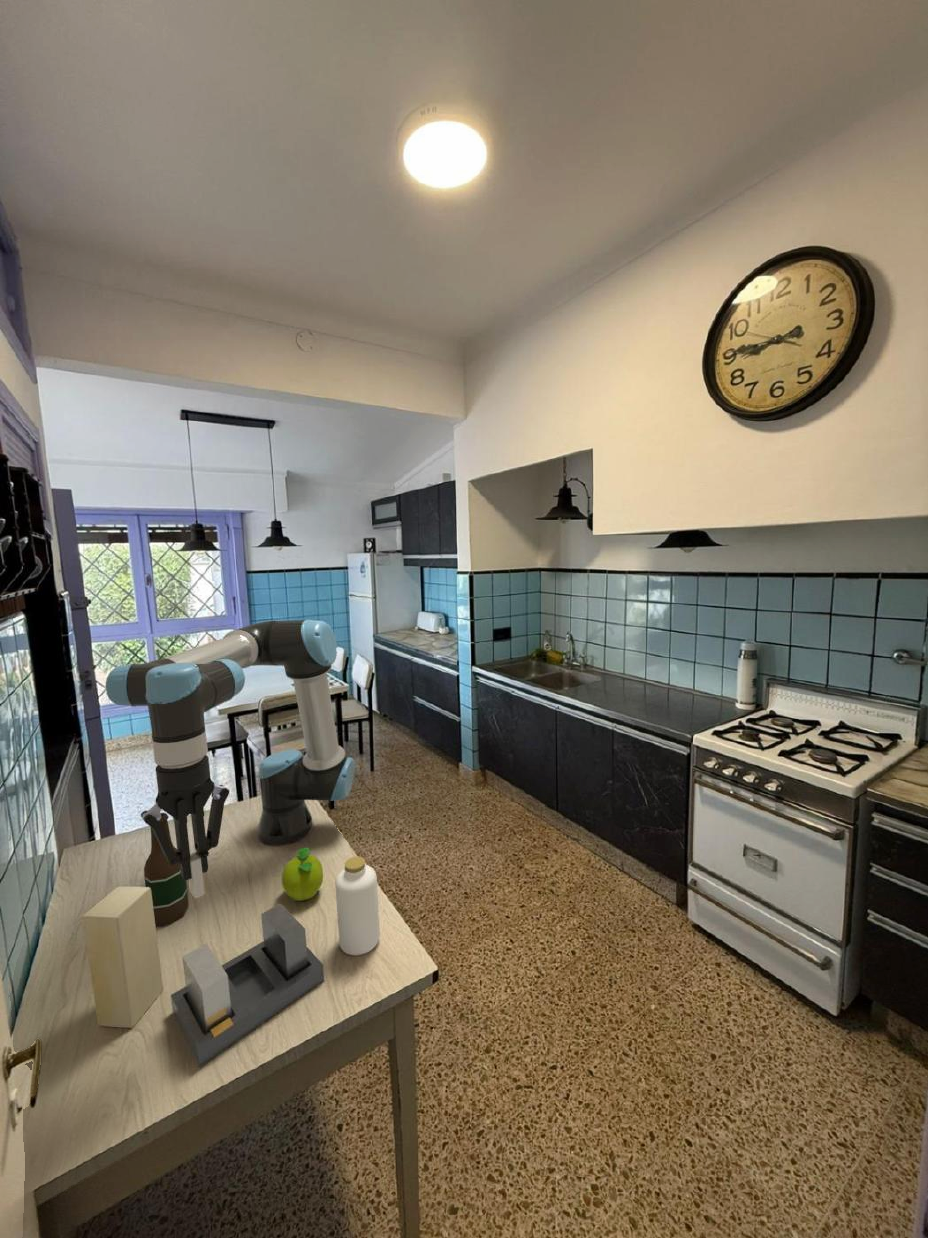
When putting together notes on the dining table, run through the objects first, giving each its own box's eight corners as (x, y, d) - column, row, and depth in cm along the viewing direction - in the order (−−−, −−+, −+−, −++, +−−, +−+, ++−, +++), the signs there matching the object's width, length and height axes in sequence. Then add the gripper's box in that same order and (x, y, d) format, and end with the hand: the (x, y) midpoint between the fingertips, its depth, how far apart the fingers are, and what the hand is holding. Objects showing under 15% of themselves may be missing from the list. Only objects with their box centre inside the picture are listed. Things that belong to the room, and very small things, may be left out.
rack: (289, 941, 104) (285, 893, 102) (324, 981, 94) (320, 928, 93) (172, 1012, 88) (166, 957, 87) (199, 1068, 79) (192, 1007, 77)
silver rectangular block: (211, 992, 91) (206, 943, 90) (233, 1027, 84) (227, 975, 83) (188, 1007, 88) (182, 956, 87) (207, 1045, 81) (201, 990, 80)
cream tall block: (128, 986, 94) (114, 885, 91) (164, 989, 93) (151, 886, 90) (93, 1026, 86) (77, 916, 83) (132, 1029, 85) (117, 918, 83)
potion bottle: (388, 941, 103) (383, 861, 101) (353, 965, 97) (348, 881, 95) (365, 921, 109) (360, 845, 107) (331, 943, 103) (326, 863, 101)
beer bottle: (171, 929, 108) (159, 826, 105) (141, 925, 110) (128, 823, 107) (197, 904, 116) (186, 808, 113) (168, 900, 117) (157, 805, 114)
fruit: (323, 879, 124) (320, 842, 122) (324, 904, 115) (322, 864, 114) (284, 887, 121) (281, 849, 120) (282, 913, 112) (279, 873, 111)
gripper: (216, 742, 88) (228, 865, 91) (129, 766, 78) (146, 902, 82) (232, 753, 82) (245, 883, 86) (141, 780, 73) (159, 925, 76)
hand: (197, 892), depth 84 cm, fingers closed
